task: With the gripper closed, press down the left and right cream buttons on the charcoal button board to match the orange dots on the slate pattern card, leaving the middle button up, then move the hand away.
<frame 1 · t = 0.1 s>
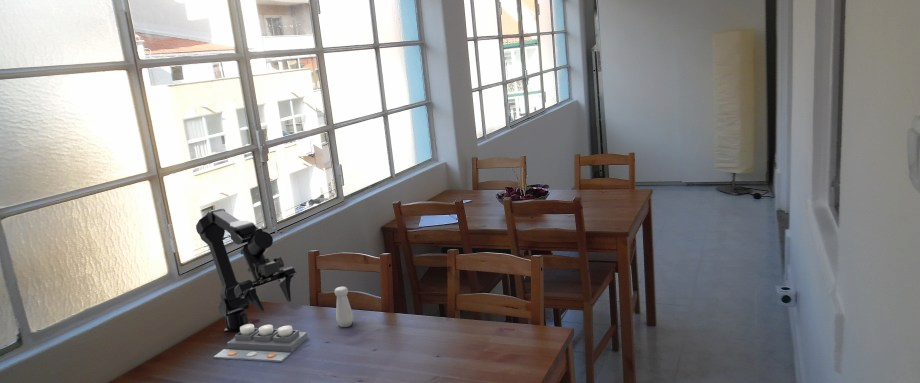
hand: (276, 306, 210), 15 cm above the table, tool tilted 30°, fingers open, 9 cm apart
button left: (247, 329, 222), point 5 cm above the table, slide at 0.0 cm
button board: (268, 343, 220), on the table
button middle: (266, 330, 219), point 5 cm above the table, slide at 0.0 cm
pattern card: (252, 356, 212), on the table
button right: (285, 331, 217), point 5 cm above the table, slide at 0.0 cm
salt shaker: (345, 325, 229), on the table
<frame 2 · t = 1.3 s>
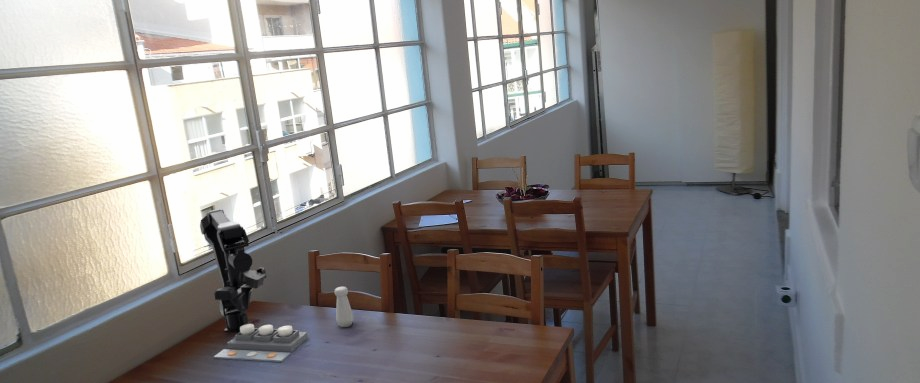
hand: (244, 310, 220), 11 cm above the table, tool pointing down, fingers open, 3 cm apart
nothing on the table moved.
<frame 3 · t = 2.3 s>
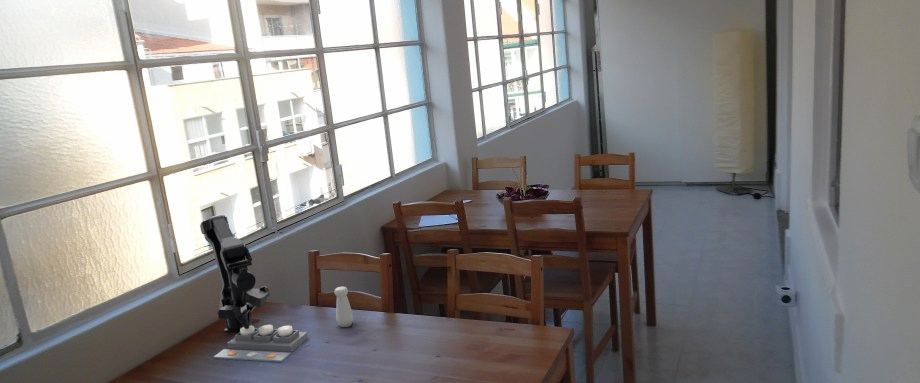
hand: (247, 328, 222), 5 cm above the table, tool pointing down, fingers closed, pressing on button left
button left: (247, 331, 222), point 4 cm above the table, slide at 0.6 cm, touching gripper
everything else where it was.
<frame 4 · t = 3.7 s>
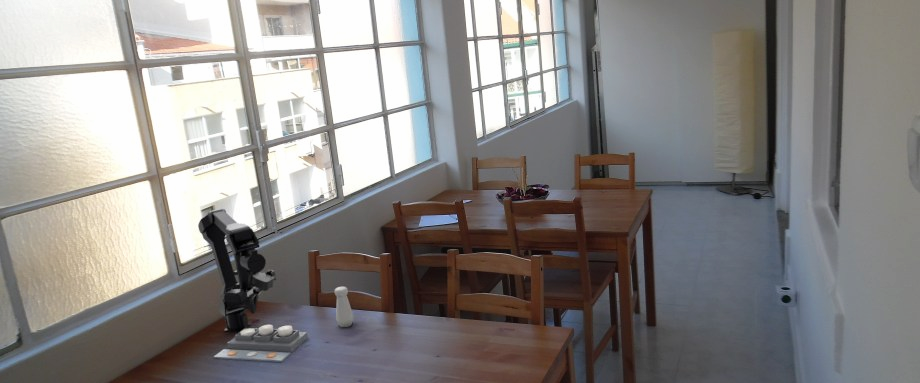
hand: (253, 313, 219), 10 cm above the table, tool pointing down, fingers closed
button left: (248, 333, 222), point 3 cm above the table, slide at 1.6 cm
everything else where it was.
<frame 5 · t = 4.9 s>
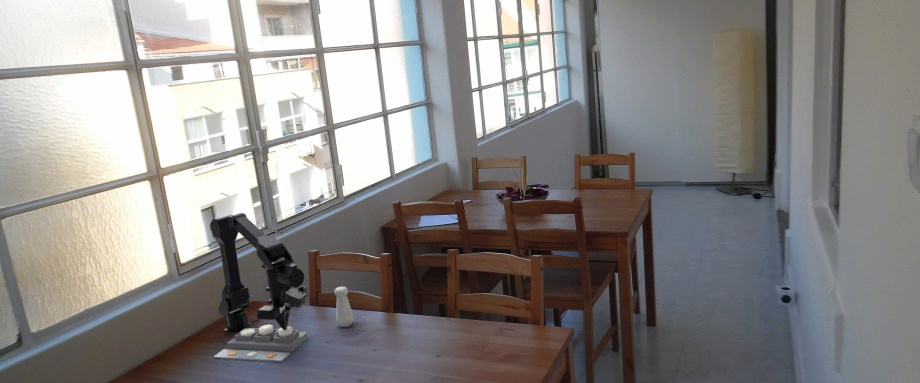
hand: (284, 329, 217), 5 cm above the table, tool pointing down, fingers closed, pressing on button right
button right: (285, 331, 217), point 4 cm above the table, slide at 0.3 cm, touching gripper
everything else where it was.
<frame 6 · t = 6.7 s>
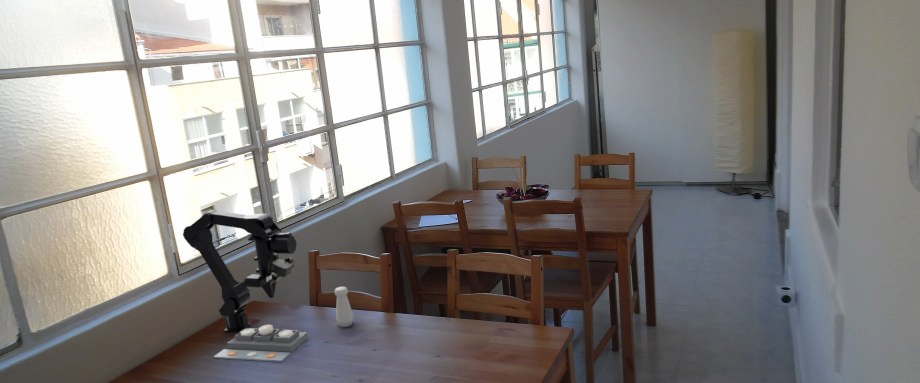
hand: (271, 297, 229), 11 cm above the table, tool pointing down, fingers closed
button right: (286, 335, 218), point 3 cm above the table, slide at 1.6 cm
everything else where it was.
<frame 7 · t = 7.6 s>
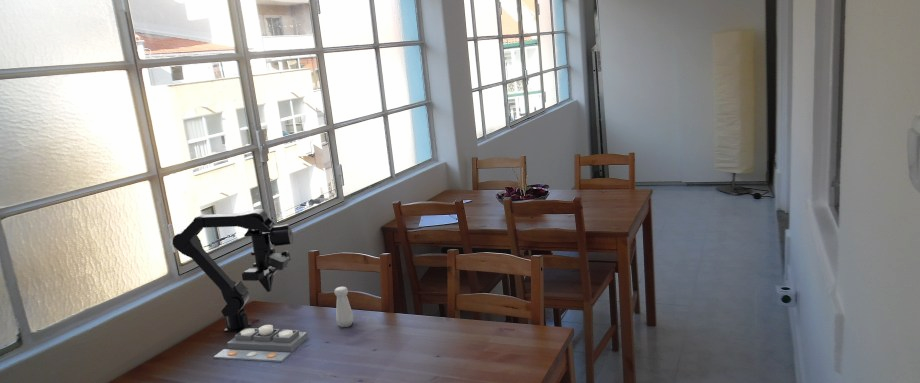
hand: (269, 291, 233), 12 cm above the table, tool pointing down, fingers closed
nothing on the table moved.
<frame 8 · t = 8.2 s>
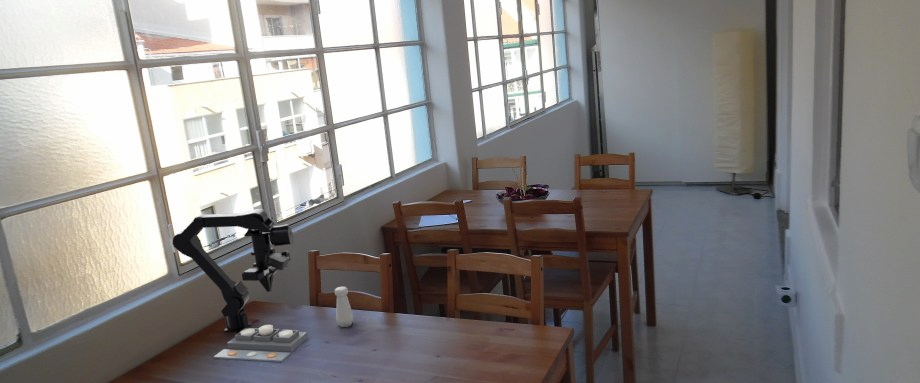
hand: (269, 291, 233), 12 cm above the table, tool pointing down, fingers closed
nothing on the table moved.
at the end: button left slide at 1.6 cm; button right slide at 1.6 cm; button middle slide at 0.0 cm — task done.
